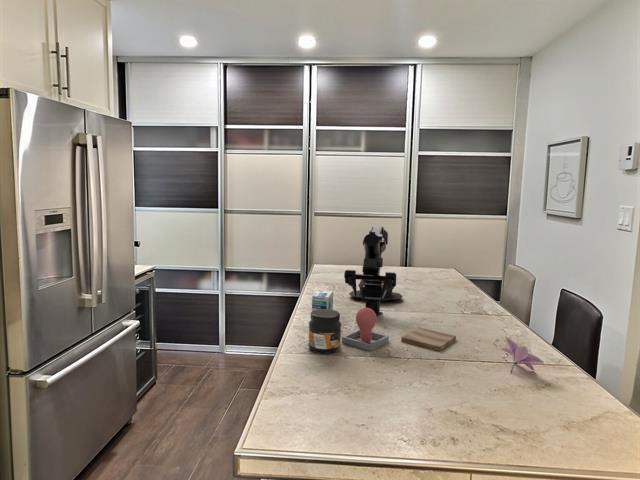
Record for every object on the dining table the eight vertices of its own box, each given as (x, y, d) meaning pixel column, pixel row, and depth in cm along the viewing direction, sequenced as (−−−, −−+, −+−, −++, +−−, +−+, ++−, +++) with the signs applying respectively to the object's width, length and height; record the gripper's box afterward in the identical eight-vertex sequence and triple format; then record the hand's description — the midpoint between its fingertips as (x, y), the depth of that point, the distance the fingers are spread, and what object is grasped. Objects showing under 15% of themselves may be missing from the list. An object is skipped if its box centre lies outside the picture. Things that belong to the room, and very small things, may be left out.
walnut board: (418, 331, 164) (418, 327, 164) (455, 340, 156) (455, 335, 155) (401, 341, 153) (401, 337, 153) (439, 351, 145) (440, 346, 144)
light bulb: (353, 338, 155) (354, 305, 153) (373, 338, 155) (374, 305, 154) (356, 345, 148) (357, 311, 146) (377, 345, 148) (379, 311, 147)
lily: (545, 385, 124) (553, 352, 127) (509, 369, 123) (518, 336, 125) (518, 380, 136) (526, 350, 138) (485, 365, 134) (493, 335, 137)
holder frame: (359, 333, 159) (360, 328, 159) (388, 341, 152) (388, 335, 152) (341, 342, 150) (341, 336, 150) (371, 351, 143) (371, 345, 143)
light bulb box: (328, 324, 169) (329, 297, 168) (311, 323, 170) (311, 295, 169) (333, 316, 179) (333, 290, 178) (316, 315, 181) (317, 289, 179)
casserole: (348, 302, 202) (348, 284, 200) (350, 292, 220) (350, 276, 219) (403, 305, 199) (404, 287, 198) (401, 295, 217) (401, 278, 216)
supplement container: (317, 356, 137) (318, 319, 136) (302, 345, 147) (303, 310, 145) (346, 351, 142) (347, 315, 141) (330, 341, 152) (331, 307, 150)
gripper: (345, 247, 162) (340, 284, 152) (397, 250, 158) (395, 287, 149) (347, 265, 170) (342, 300, 161) (396, 268, 167) (394, 304, 158)
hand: (368, 298), depth 157 cm, fingers open, 9 cm apart
